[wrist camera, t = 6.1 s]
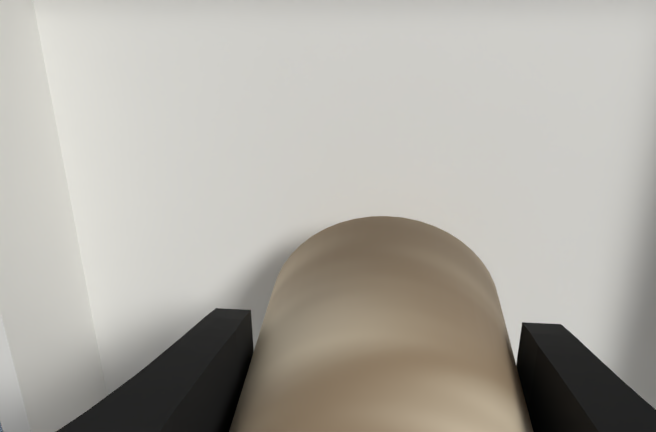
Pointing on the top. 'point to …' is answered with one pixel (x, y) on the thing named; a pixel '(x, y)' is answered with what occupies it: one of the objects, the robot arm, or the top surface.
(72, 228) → the tray
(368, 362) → the birch cylinder
